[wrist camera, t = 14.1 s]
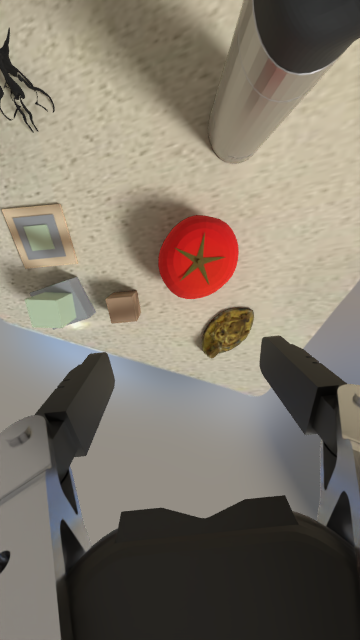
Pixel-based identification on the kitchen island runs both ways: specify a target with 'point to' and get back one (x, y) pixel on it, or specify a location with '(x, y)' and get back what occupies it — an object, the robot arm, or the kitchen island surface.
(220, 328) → the stuffed eggplant half
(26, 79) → the creature
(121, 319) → the walnut block
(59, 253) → the tile
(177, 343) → the kitchen island surface
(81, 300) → the grey base block
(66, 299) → the sage block
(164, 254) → the tomato
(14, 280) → the kitchen island surface
